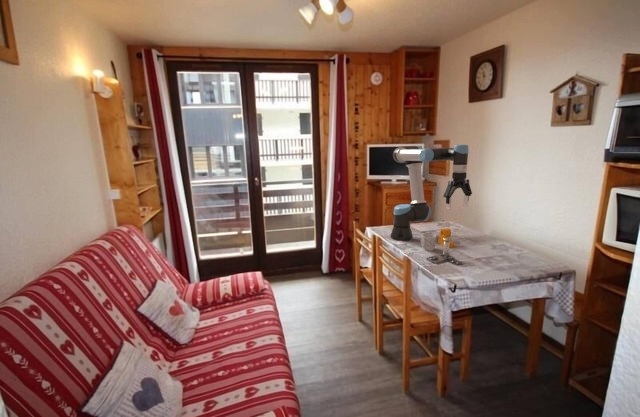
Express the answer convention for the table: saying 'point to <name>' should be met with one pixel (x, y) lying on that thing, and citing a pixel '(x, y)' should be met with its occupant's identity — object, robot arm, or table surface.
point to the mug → (428, 241)
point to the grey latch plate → (455, 262)
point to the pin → (446, 247)
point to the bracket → (445, 234)
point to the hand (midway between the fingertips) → (456, 207)
